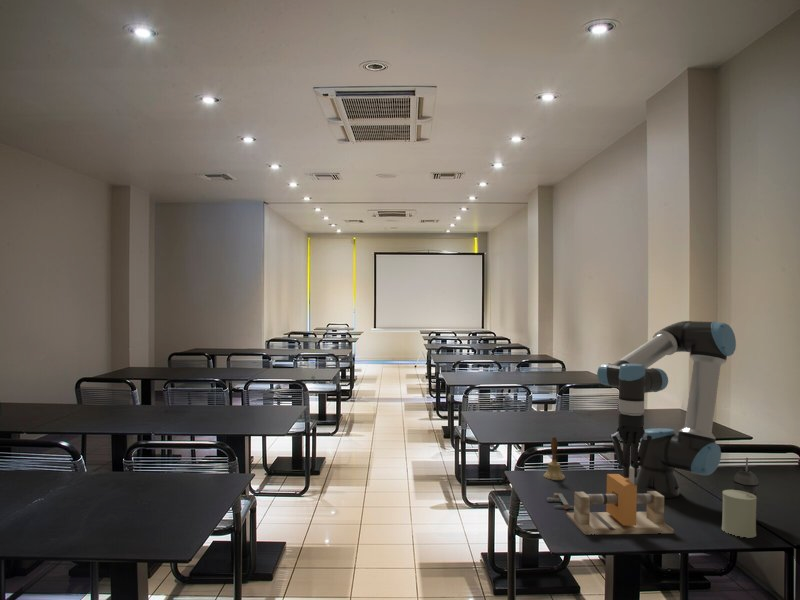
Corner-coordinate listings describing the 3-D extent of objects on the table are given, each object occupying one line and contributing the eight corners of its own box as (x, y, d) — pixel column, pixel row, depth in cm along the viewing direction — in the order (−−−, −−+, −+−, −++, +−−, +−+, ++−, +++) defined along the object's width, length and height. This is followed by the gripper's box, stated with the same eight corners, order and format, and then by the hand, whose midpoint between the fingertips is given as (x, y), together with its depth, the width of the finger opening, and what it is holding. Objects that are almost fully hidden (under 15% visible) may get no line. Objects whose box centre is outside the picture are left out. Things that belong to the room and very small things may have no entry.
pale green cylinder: (756, 540, 169) (757, 500, 169) (720, 533, 173) (721, 494, 173) (756, 530, 176) (757, 491, 176) (722, 523, 181) (722, 486, 181)
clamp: (544, 492, 203) (573, 493, 202) (544, 498, 203) (573, 499, 202) (553, 507, 188) (584, 508, 187) (553, 514, 188) (584, 515, 187)
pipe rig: (648, 514, 188) (649, 485, 188) (674, 533, 173) (674, 501, 173) (566, 515, 186) (566, 486, 186) (584, 534, 171) (585, 502, 171)
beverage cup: (754, 515, 189) (756, 455, 189) (760, 523, 182) (762, 460, 182) (730, 512, 191) (731, 452, 191) (735, 519, 184) (736, 458, 184)
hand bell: (544, 479, 223) (545, 439, 223) (542, 473, 231) (543, 434, 231) (566, 481, 222) (566, 440, 222) (563, 474, 230) (564, 435, 230)
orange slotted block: (618, 510, 185) (618, 473, 185) (636, 525, 173) (636, 485, 173) (606, 510, 185) (606, 474, 185) (623, 525, 173) (624, 486, 173)
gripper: (644, 410, 184) (643, 483, 184) (606, 410, 183) (604, 484, 183) (657, 415, 176) (655, 491, 176) (616, 415, 175) (615, 491, 175)
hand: (629, 487), depth 179 cm, fingers closed
